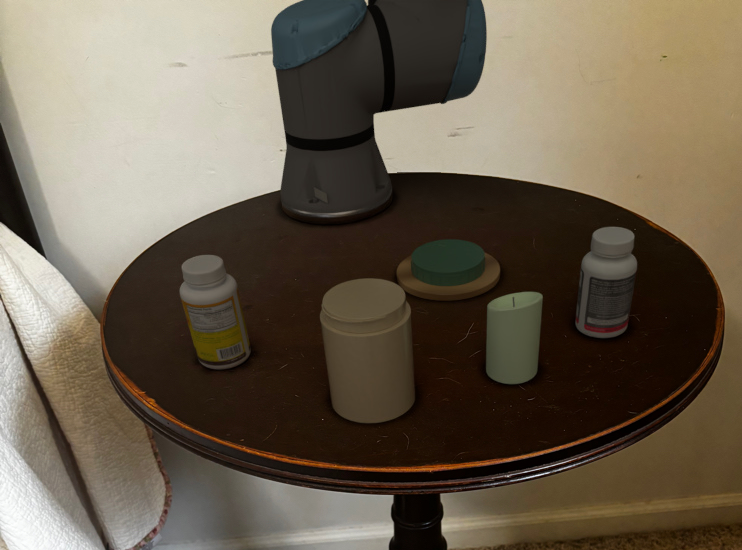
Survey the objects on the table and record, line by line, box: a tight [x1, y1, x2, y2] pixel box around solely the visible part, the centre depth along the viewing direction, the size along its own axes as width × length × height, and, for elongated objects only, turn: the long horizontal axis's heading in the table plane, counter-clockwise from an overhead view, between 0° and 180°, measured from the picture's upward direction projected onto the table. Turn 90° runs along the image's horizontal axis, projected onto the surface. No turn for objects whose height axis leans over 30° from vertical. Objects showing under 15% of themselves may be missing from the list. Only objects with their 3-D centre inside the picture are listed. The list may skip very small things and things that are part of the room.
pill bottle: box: [575, 226, 638, 339], centre depth 80 cm, size 5×5×10 cm
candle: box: [485, 291, 544, 385], centre depth 75 cm, size 5×5×8 cm
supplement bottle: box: [179, 254, 252, 370], centre depth 79 cm, size 6×6×10 cm
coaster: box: [396, 251, 501, 302], centre depth 93 cm, size 12×12×1 cm
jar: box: [319, 277, 416, 424], centre depth 72 cm, size 8×8×10 cm
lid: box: [410, 238, 486, 286], centre depth 92 cm, size 8×8×2 cm
